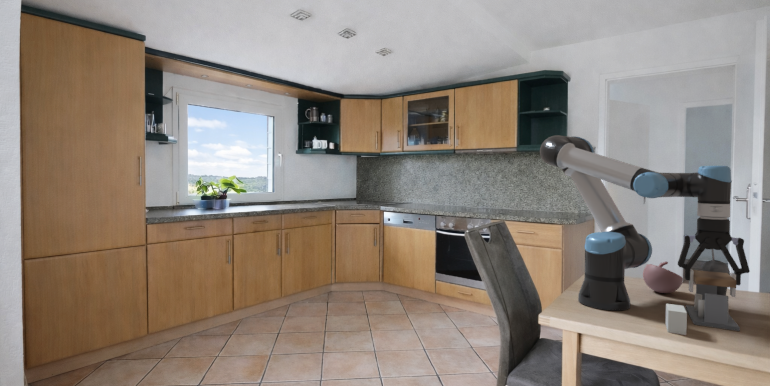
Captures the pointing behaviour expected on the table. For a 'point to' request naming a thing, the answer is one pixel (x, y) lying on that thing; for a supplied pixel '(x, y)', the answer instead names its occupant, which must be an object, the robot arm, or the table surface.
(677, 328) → the grey rectangular block
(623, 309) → the robot arm
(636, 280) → the table surface
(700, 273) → the board
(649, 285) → the mortar and pestle
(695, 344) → the table surface
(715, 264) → the beverage cup
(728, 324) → the cradle
